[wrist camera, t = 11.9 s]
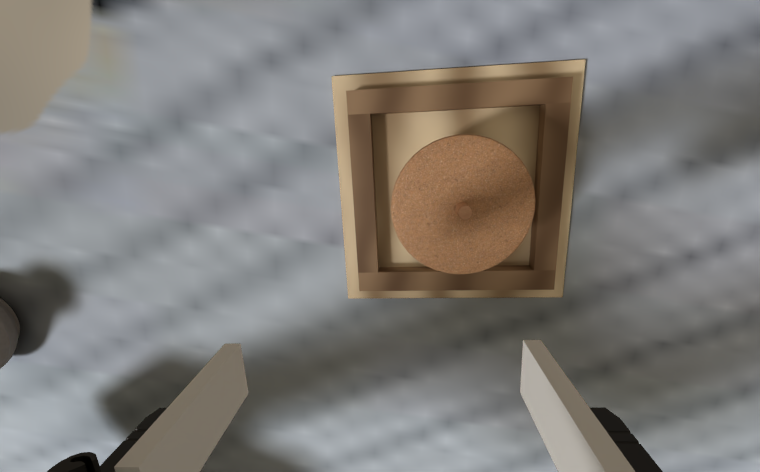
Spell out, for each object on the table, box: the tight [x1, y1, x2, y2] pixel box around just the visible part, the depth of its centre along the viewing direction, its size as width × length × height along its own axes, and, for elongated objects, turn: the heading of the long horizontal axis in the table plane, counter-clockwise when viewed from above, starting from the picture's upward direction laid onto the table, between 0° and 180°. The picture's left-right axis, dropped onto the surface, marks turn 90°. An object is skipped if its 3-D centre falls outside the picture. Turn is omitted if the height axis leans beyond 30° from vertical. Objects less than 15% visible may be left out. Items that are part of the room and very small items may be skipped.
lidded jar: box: [391, 134, 535, 274], centre depth 29 cm, size 11×11×9 cm
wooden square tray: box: [332, 59, 586, 298], centre depth 33 cm, size 22×22×2 cm
